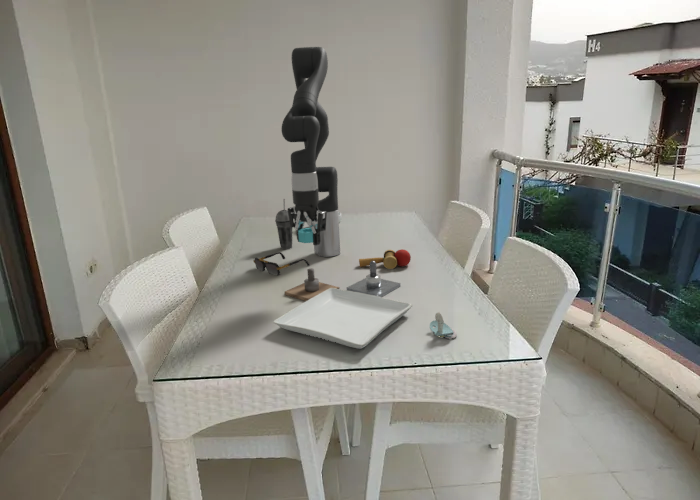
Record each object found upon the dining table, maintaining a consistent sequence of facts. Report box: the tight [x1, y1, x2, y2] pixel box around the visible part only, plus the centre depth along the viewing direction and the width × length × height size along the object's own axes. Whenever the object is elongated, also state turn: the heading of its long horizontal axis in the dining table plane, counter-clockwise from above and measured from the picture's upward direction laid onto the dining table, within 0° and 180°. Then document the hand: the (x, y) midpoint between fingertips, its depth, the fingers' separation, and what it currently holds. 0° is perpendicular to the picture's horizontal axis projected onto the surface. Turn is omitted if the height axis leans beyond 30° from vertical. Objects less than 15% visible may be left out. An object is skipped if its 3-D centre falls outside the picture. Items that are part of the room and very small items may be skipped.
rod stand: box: [284, 268, 340, 302], centre depth 150 cm, size 12×12×8 cm
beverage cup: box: [274, 198, 293, 250], centre depth 195 cm, size 7×7×20 cm
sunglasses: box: [253, 251, 311, 276], centre depth 174 cm, size 14×15×5 cm
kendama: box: [358, 249, 412, 270], centre depth 171 cm, size 8×6×18 cm
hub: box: [346, 261, 401, 297], centre depth 151 cm, size 12×12×9 cm
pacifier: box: [429, 311, 458, 340], centre depth 120 cm, size 7×6×6 cm
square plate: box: [272, 288, 413, 350], centre depth 129 cm, size 27×27×4 cm
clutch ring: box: [298, 227, 313, 244], centre depth 145 cm, size 6×6×3 cm
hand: (308, 243), depth 146 cm, fingers closed on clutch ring, 5 cm apart
